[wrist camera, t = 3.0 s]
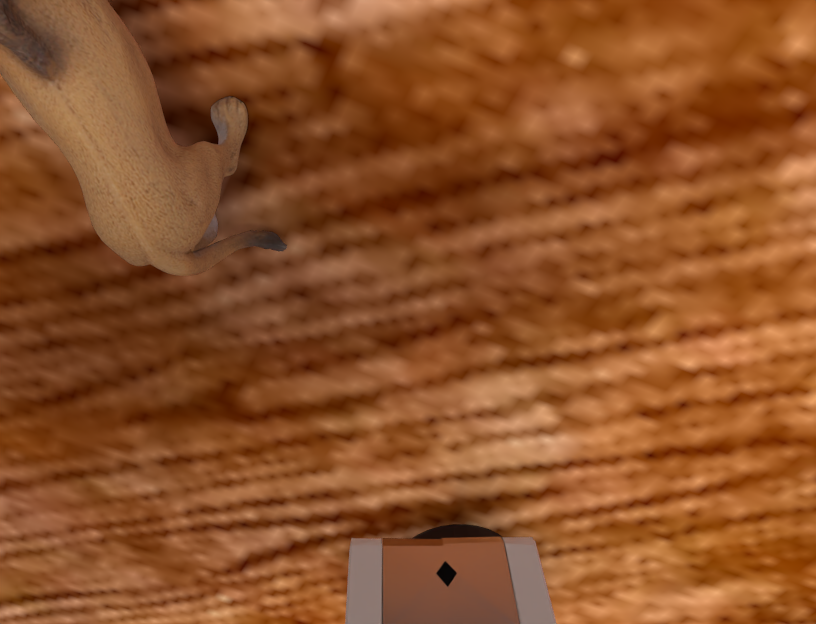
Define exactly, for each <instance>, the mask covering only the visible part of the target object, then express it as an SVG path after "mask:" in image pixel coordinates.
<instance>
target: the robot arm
mask: <svg viewBox="0 0 816 624" xmlns="http://www.w3.org/2000/svg"><path fill="white" fill-rule="evenodd" d="M345 624H556V620H555V616H554V612H553V608H552V604H551V600H550V597H549V593H548V589H547V585H546V581H545V577H544V573H543V569H542V565H541V561H540V557H539V553H538V549H537V546H536V542H535V541H534V539H533V538H532V537H502V538H500V537H465V538H442V539H398V538H383V550H382V538H352V539H351V544H350V551H349V569H348V586H347V604H346V622H345Z"/></svg>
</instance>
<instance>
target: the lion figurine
mask: <svg viewBox="0 0 816 624" xmlns="http://www.w3.org/2000/svg"><path fill="white" fill-rule="evenodd" d="M0 73H1V75H2V76H3V78H4V79H5V81H6V82H7V84H8V85H9V87H10V88H11V90H12V91H13V93H14V94H15V95H16V97H17V98H18V99H19V101H20V102H21V103H22V105H23V106H24V107H25V108H26V110H27V111H28V112H29V114H30V115H31V116H32V118H33V119H34V120H35V121H36V123H37V124H38V125H39V126H40V127H41V128H42V129H43V130H44V131H45V132H46V133H47V134H48V135H49V137H50V138H51V139H52V140H53V141H54V142H55V144H56V145H57V146H58V147H59V148H60V150H61V151H62V153H63V154H64V156H65V157H66V159H67V160H68V162H69V163H70V165H71V166H72V168H73V170H74V172H75V174H76V176H77V178H78V181H79V183H80V186H81V189H82V192H83V196H84V200H85V204H86V207H87V210H88V214H89V217H90V220H91V223H92V226H93V227H94V229H95V231H96V233H97V235H98V236H99V237H100V239H101V240H102V241H103V242H104V243H105V244H106V245H107V246H108V247H109V248H110V249H112V250H113V251H114V252H115V253H117V254H118V255H119V256H120V257H121V258H123V259H124V260H126V261H127V262H128V263H130V264H132V265H135V266H146V265H149V264H151V265H152V266H154V267H156V268H158V269H160V270H162V271H164V272H166V273H169V274H172V275H177V276H190V275H196V274H199V273H202V272H204V271H206V270H208V269H209V268H211V267H213V266H214V265H215V264H217V263H218V262H220V261H221V260H223V259H224V258H226V257H227V256H229V255H230V254H232V253H233V252H235V251H237V250H239V249H241V248H247V247H253V246H256V247H261V248H264V249H272V250H276V251H284V250H285V249H286V248H287V245H286V244H284V243H283V242H282V240H281V239H280V238H279V237H278V235H277V234H275V233H273V232H268V231H264V230H262V231H251V230H250V231H247V232H244V233H240V234H237V235H234V236H231V237H228V238H226V239H224V240H221V241H218V242H216V243H214V244H212V245H210V246H207V245H208V244H210V243H211V242H212V241H213V240H214V239H215V238H216V236H217V231H218V222H217V218H216V216H215V212H216V209H217V207H218V204H219V200H220V193H221V184H222V181H223V178H224V177H226V176H230V175H232V174H234V172H235V171H236V169H237V166H238V158H239V153H240V148H241V144H242V141H243V139H244V136H245V134H246V130H247V125H248V113H247V109H246V107H245V105H244V103H243V102H242V101H240V100H239V99H237V98H235V97H231V96H229V97H225V98H223V99H220V100H218V101H217V102H215V103H214V104H213V105H212V107H211V119H212V121H213V124H214V126H215V128H216V130H217V133H218V138H219V141H218V144H212V143H209V142H206V141H202V142H196V143H194V144H192V145H190V146H180V145H178V144H176V143H175V142H174V140H173V139H172V137H171V135H170V133H169V130H168V127H167V125H166V122H165V118H164V115H163V111H162V107H161V103H160V100H159V96H158V92H157V88H156V85H155V81H154V78H153V75H152V73H151V70H150V68H149V66H148V64H147V61H146V59H145V57H144V56H143V54H142V52H141V50H140V48H139V46H138V44H137V42H136V41H135V39H134V38H133V36H132V34H131V33H130V31H129V30H128V28H127V27H126V26H125V24H124V23H123V21H122V20H121V18H120V17H119V16H118V14H117V13H116V12H115V10H114V9H113V8H112V6H111V5H110V4H109V2H108V1H107V0H0ZM206 246H207V247H206Z"/></svg>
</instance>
